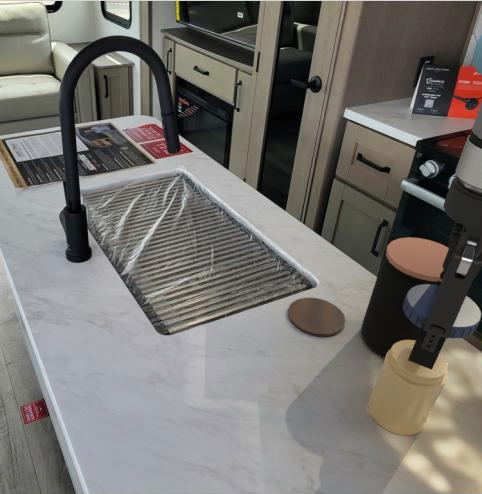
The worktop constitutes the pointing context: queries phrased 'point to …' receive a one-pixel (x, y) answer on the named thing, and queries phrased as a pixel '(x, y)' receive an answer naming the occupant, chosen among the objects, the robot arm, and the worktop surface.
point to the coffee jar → (400, 290)
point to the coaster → (316, 317)
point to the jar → (406, 390)
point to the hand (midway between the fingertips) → (427, 341)
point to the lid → (422, 301)
